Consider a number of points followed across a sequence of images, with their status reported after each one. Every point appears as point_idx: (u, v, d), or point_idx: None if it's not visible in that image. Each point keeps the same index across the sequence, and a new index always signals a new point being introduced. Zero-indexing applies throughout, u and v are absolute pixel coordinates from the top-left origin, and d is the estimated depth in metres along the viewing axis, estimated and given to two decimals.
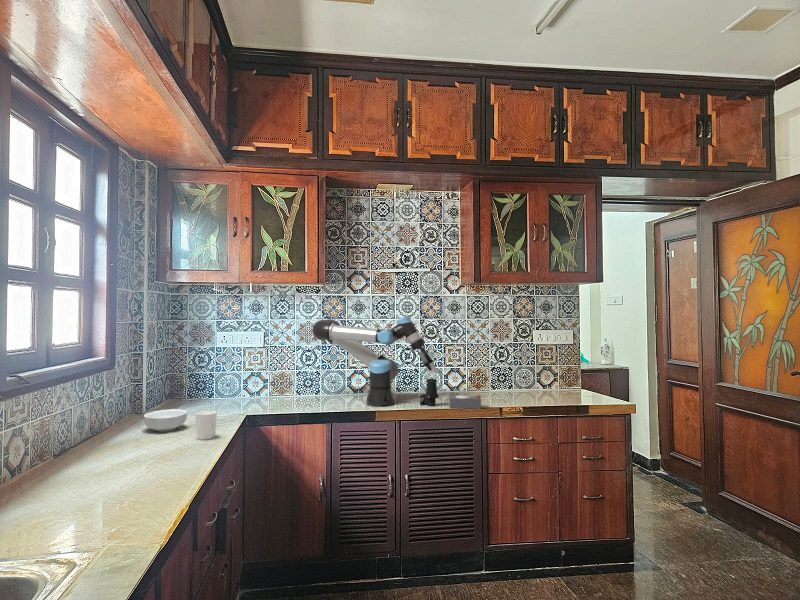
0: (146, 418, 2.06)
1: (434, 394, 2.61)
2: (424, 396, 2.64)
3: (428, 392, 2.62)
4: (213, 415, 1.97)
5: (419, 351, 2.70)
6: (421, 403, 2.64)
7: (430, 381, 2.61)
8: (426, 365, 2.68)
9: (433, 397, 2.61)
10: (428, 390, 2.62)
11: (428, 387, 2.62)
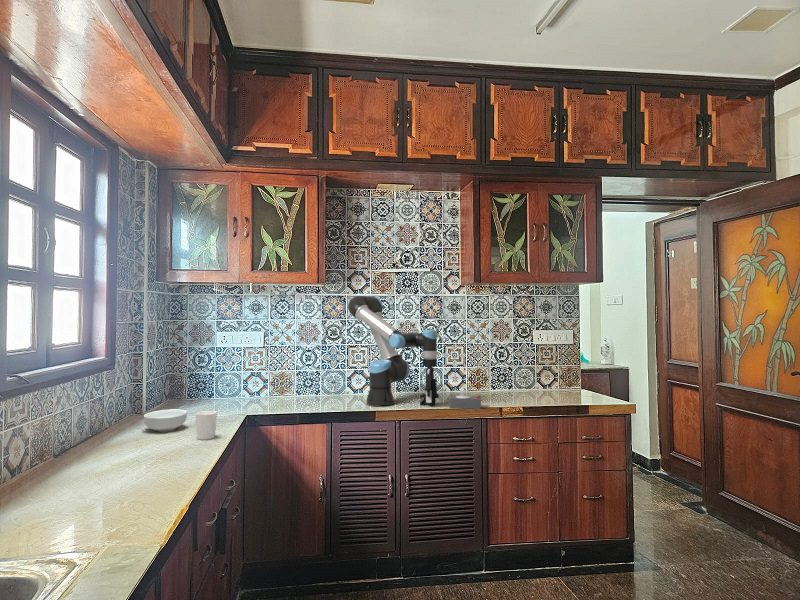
0: (146, 418, 2.06)
1: (434, 394, 2.61)
2: (424, 396, 2.64)
3: None
4: (213, 415, 1.97)
5: (427, 373, 2.58)
6: (421, 403, 2.64)
7: None
8: (427, 390, 2.58)
9: (433, 397, 2.61)
10: None
11: None
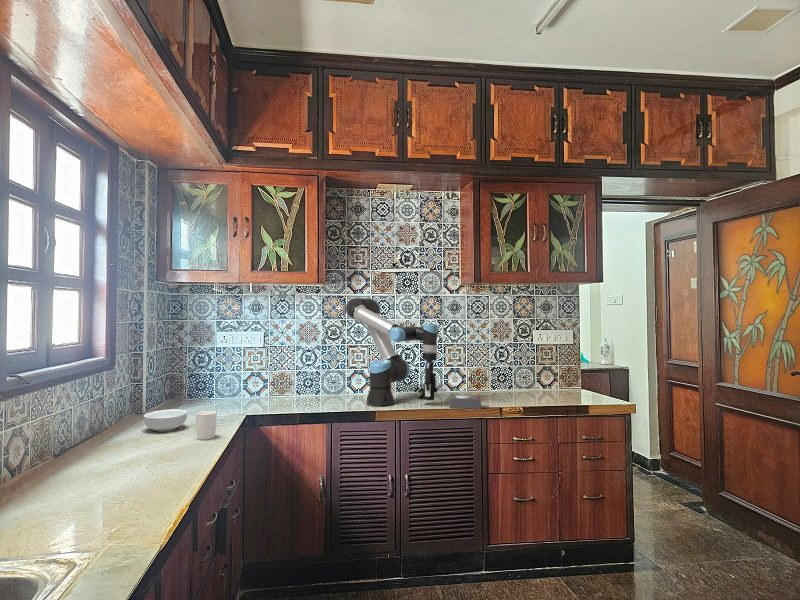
0: (146, 418, 2.06)
1: (433, 388, 2.62)
2: (423, 390, 2.65)
3: None
4: (213, 415, 1.97)
5: (427, 367, 2.58)
6: (420, 397, 2.64)
7: None
8: (426, 384, 2.59)
9: (432, 391, 2.62)
10: None
11: None
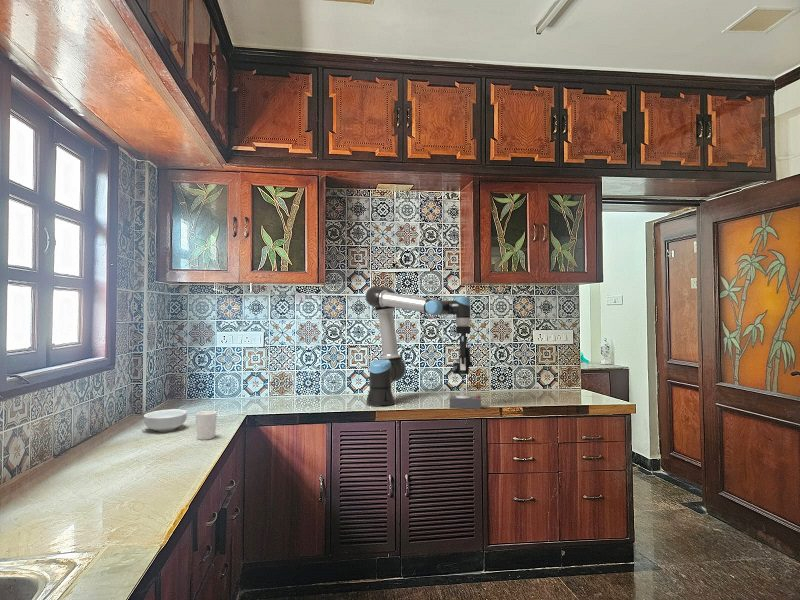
0: (146, 418, 2.06)
1: (468, 362, 2.58)
2: (457, 364, 2.60)
3: None
4: (213, 415, 1.97)
5: (462, 340, 2.54)
6: (454, 371, 2.60)
7: None
8: (461, 357, 2.54)
9: (467, 365, 2.57)
10: None
11: None
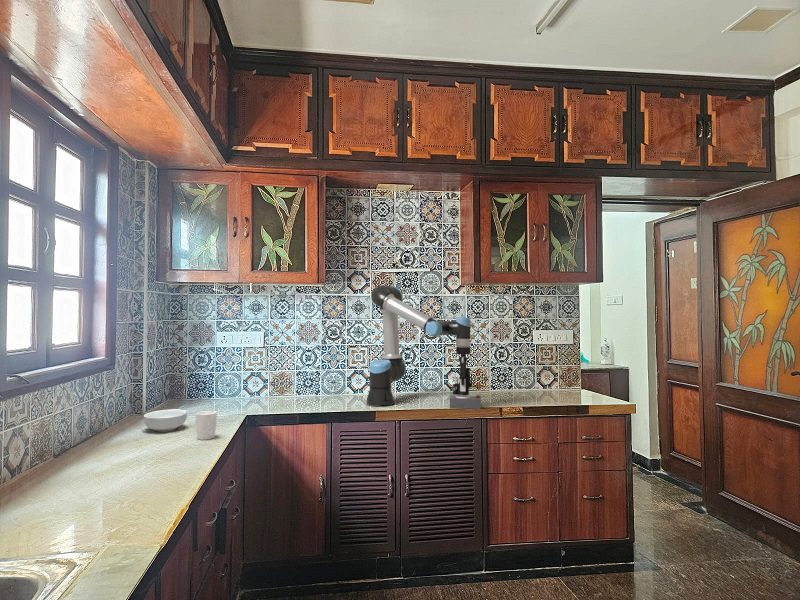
0: (146, 418, 2.06)
1: (468, 383, 2.58)
2: (457, 385, 2.60)
3: None
4: (213, 415, 1.97)
5: (462, 361, 2.54)
6: (454, 392, 2.60)
7: None
8: (461, 378, 2.54)
9: (467, 386, 2.57)
10: None
11: None
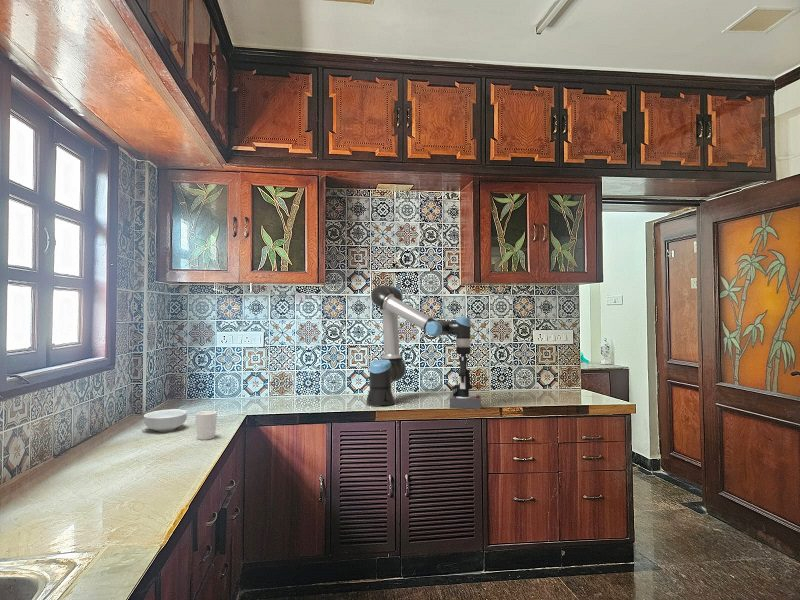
0: (146, 418, 2.06)
1: (468, 385, 2.58)
2: (457, 387, 2.60)
3: None
4: (213, 415, 1.97)
5: (462, 359, 2.53)
6: (454, 394, 2.60)
7: None
8: (461, 376, 2.52)
9: (467, 388, 2.57)
10: None
11: None
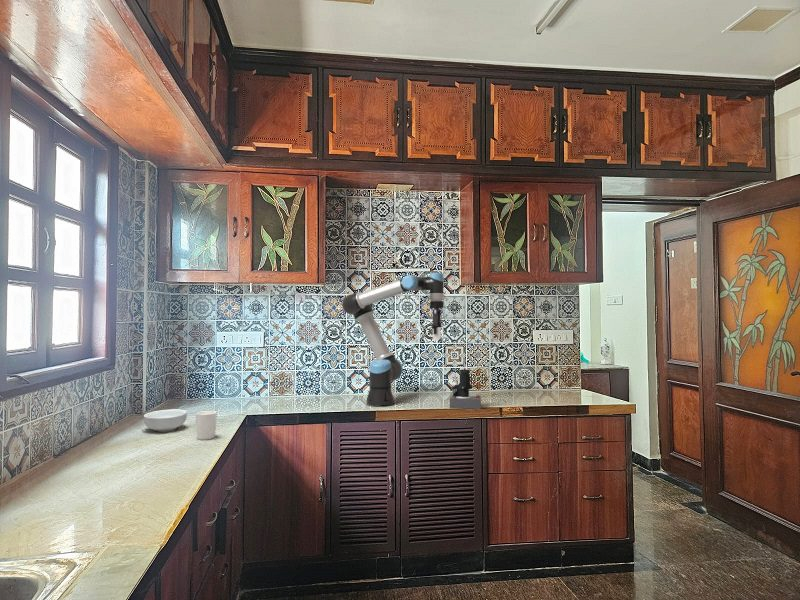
0: (146, 418, 2.06)
1: (468, 385, 2.58)
2: (457, 387, 2.60)
3: (462, 383, 2.58)
4: (213, 415, 1.97)
5: (434, 312, 2.65)
6: (454, 394, 2.60)
7: (464, 371, 2.57)
8: (433, 328, 2.63)
9: (467, 388, 2.57)
10: (462, 381, 2.58)
11: (462, 378, 2.58)
